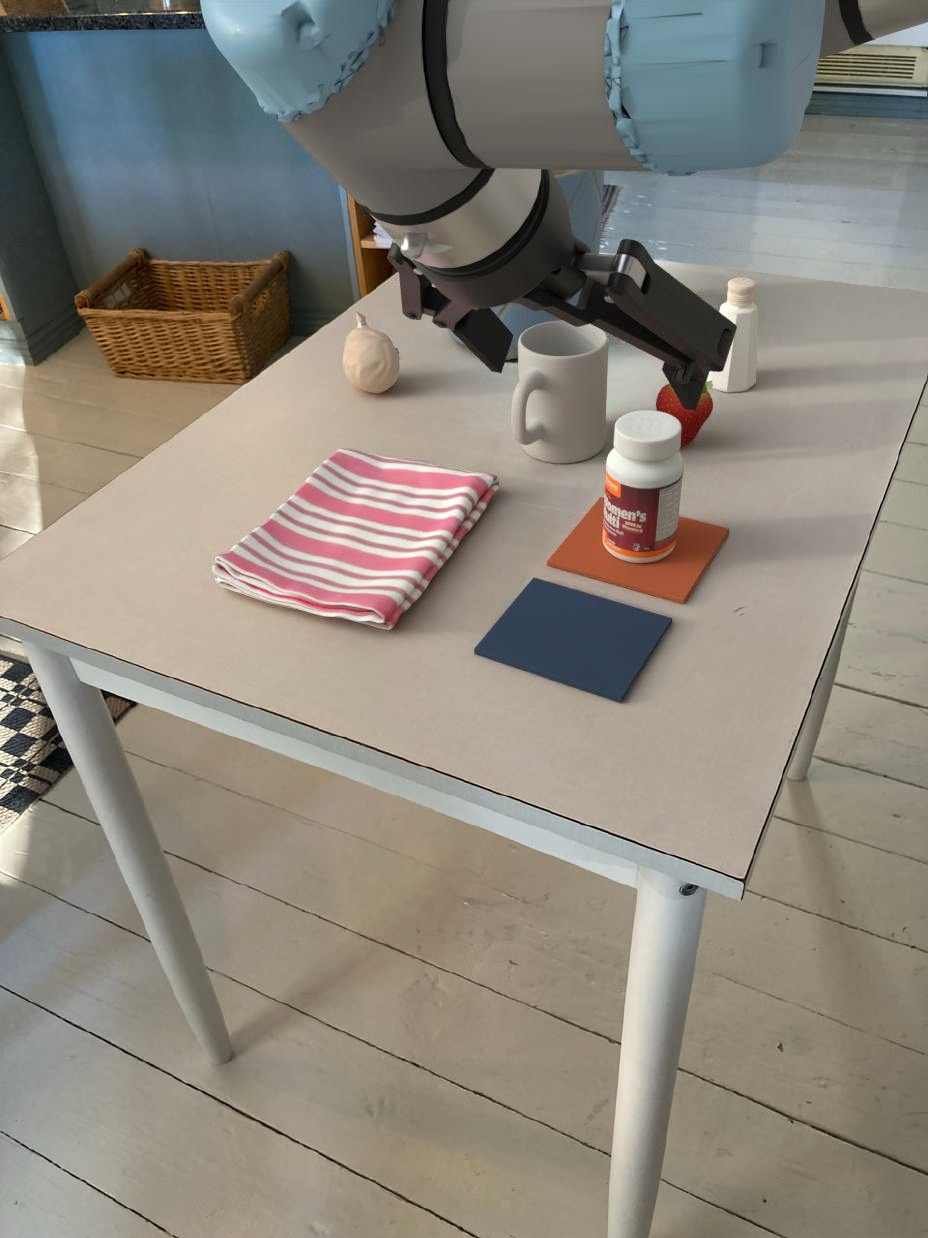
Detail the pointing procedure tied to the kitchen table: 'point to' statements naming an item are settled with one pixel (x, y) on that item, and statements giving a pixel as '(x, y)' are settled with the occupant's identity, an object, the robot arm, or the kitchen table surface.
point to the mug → (561, 392)
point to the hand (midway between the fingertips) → (595, 370)
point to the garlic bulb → (370, 358)
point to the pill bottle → (643, 487)
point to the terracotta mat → (654, 578)
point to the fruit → (686, 411)
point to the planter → (586, 225)
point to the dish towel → (358, 537)
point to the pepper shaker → (739, 338)
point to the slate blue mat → (575, 638)
